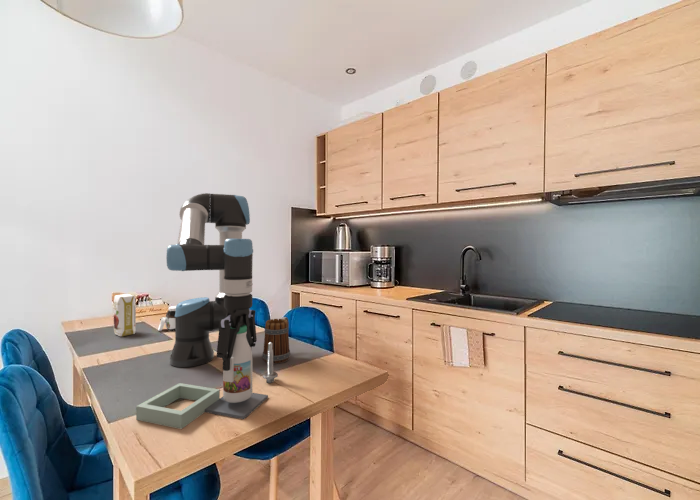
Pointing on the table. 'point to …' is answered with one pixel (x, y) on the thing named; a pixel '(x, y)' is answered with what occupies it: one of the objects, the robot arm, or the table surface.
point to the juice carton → (124, 314)
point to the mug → (277, 340)
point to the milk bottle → (240, 370)
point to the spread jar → (169, 320)
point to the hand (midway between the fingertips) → (237, 374)
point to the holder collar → (176, 418)
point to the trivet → (236, 406)
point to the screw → (270, 366)
